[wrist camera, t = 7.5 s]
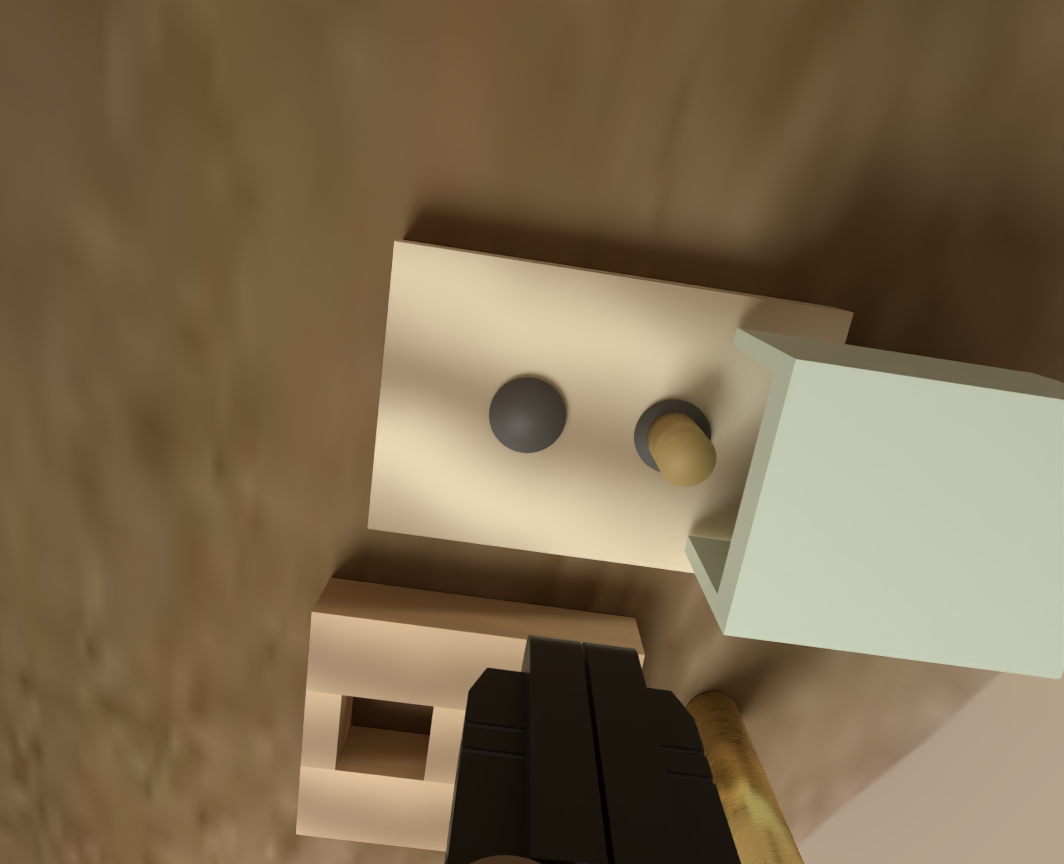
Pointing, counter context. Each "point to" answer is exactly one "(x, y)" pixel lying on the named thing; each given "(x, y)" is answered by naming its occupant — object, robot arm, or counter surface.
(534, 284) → the board
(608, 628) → the socket board
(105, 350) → the counter surface
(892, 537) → the cover
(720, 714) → the peg
